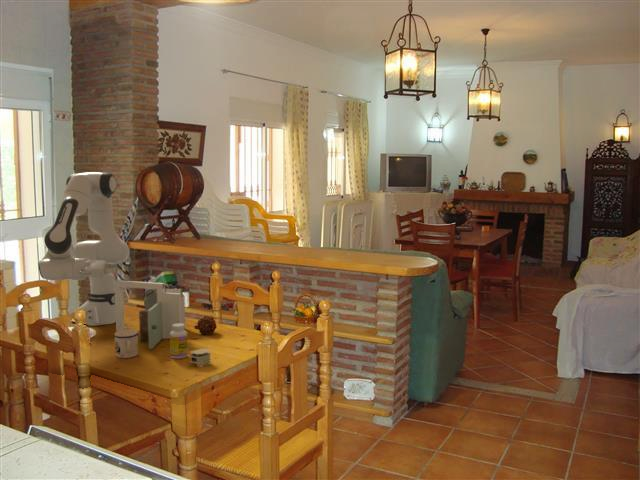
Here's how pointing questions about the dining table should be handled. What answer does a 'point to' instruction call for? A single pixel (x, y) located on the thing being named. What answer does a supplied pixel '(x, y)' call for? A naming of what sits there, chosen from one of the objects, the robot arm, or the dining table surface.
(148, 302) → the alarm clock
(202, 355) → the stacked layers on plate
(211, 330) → the pine cone
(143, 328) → the post
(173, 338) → the supplement bottle
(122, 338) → the teacup with lid
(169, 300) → the door frame
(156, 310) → the door
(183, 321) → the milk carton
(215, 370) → the dining table surface
